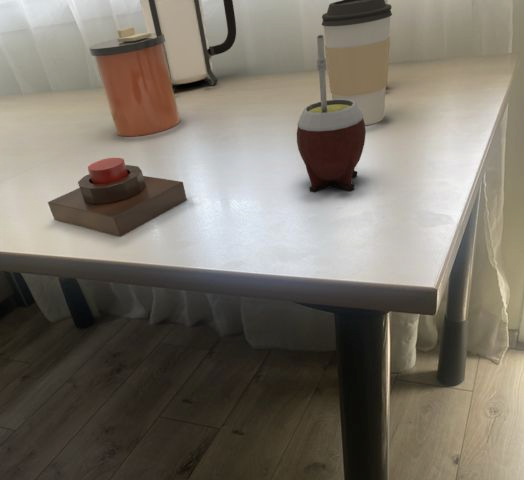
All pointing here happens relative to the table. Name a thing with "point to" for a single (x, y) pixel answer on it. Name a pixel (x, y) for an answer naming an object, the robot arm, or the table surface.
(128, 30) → the slider
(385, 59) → the coffee cup
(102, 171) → the button
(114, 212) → the button base
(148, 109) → the tumbler
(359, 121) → the mate gourd
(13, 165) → the table surface
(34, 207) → the table surface
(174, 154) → the table surface
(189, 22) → the coffee press
